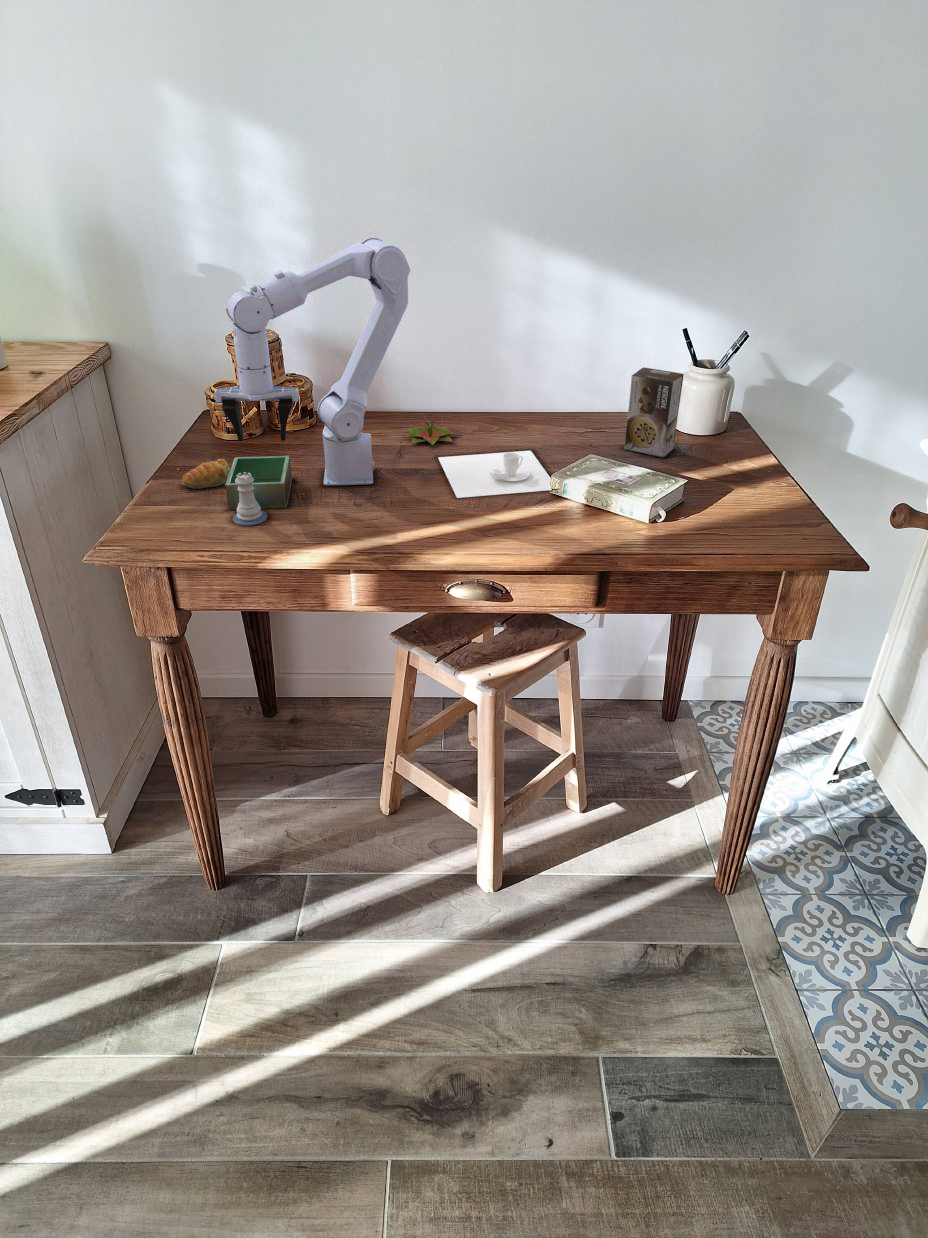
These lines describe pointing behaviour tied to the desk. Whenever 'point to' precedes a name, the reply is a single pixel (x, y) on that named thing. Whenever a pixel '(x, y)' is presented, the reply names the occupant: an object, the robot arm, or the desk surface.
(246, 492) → the rook chess piece
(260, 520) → the tile coaster
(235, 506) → the open box
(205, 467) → the pastry
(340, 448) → the robot arm
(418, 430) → the lily flower
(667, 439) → the coffee box
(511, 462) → the teacup and saucer
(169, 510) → the desk surface
